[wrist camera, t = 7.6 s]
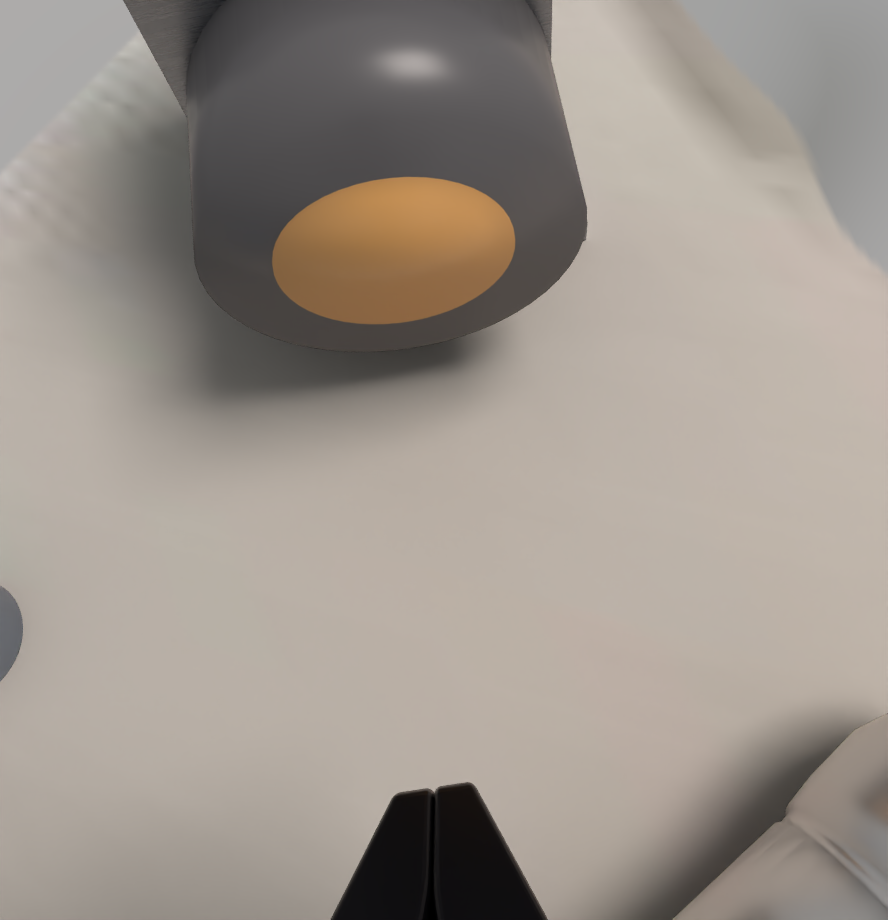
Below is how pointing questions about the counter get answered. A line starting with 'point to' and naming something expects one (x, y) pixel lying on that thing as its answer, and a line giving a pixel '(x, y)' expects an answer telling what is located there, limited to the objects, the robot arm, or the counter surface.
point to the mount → (186, 14)
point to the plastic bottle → (817, 846)
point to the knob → (378, 168)
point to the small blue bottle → (9, 631)
